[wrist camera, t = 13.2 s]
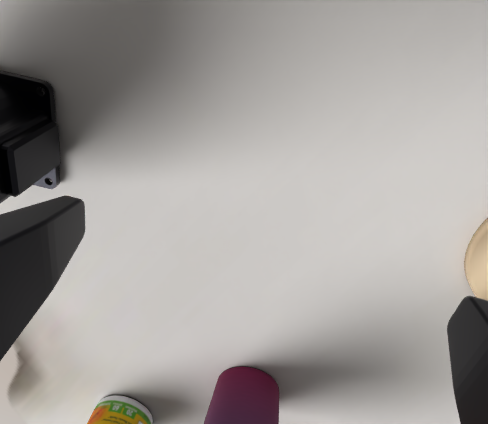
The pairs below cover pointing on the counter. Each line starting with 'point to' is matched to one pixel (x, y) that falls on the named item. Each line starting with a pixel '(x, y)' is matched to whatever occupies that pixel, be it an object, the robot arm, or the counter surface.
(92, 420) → the supplement bottle
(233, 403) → the cup
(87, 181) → the counter surface
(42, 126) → the robot arm
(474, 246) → the coaster
